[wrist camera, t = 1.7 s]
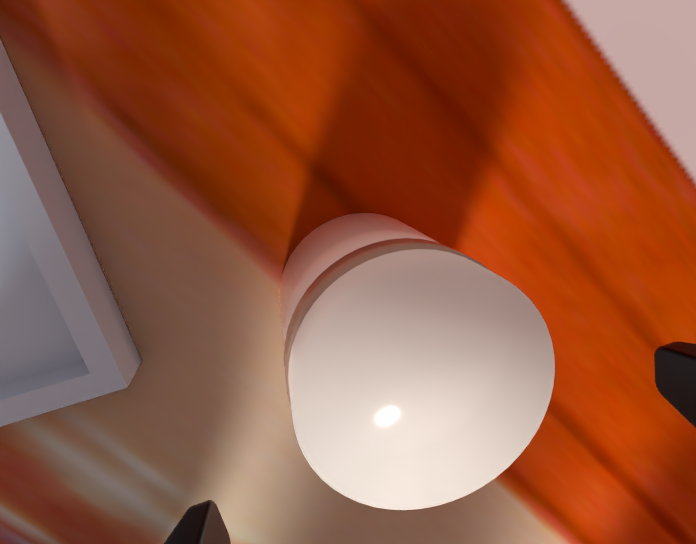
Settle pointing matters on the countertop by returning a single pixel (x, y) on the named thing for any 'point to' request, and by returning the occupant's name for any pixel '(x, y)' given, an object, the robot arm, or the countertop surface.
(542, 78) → the countertop surface
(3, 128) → the tray
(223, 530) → the robot arm
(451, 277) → the cream lidded jar
